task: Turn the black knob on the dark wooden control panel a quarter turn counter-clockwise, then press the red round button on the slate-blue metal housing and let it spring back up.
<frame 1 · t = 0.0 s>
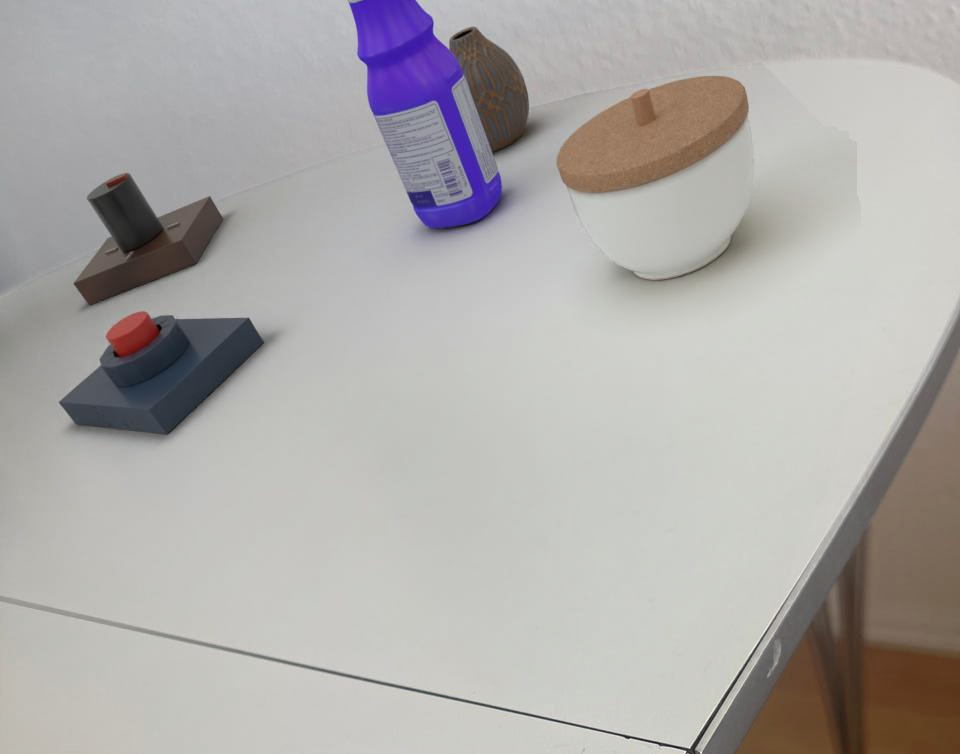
start button: (133, 334, 74), point 4 cm above the table, slide at 0.1 cm
vase: (502, 143, 86), on the table
control panel: (157, 261, 101), on the table
dial knob: (124, 211, 97), point 5 cm above the table, hinge at 0.0°
bottle: (466, 215, 77), on the table
button box: (168, 384, 77), on the table
trinket box: (681, 254, 60), on the table
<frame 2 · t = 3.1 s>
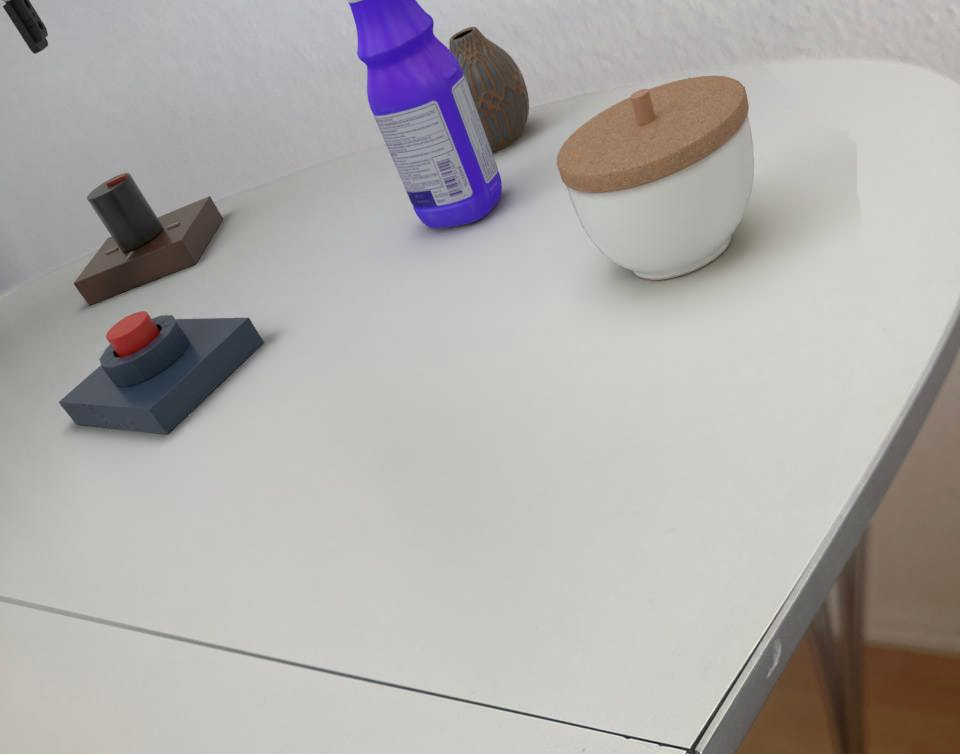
hand: (0, 71, 82), 20 cm above the table, tool pointing down, fingers open, 8 cm apart
nothing on the table moved.
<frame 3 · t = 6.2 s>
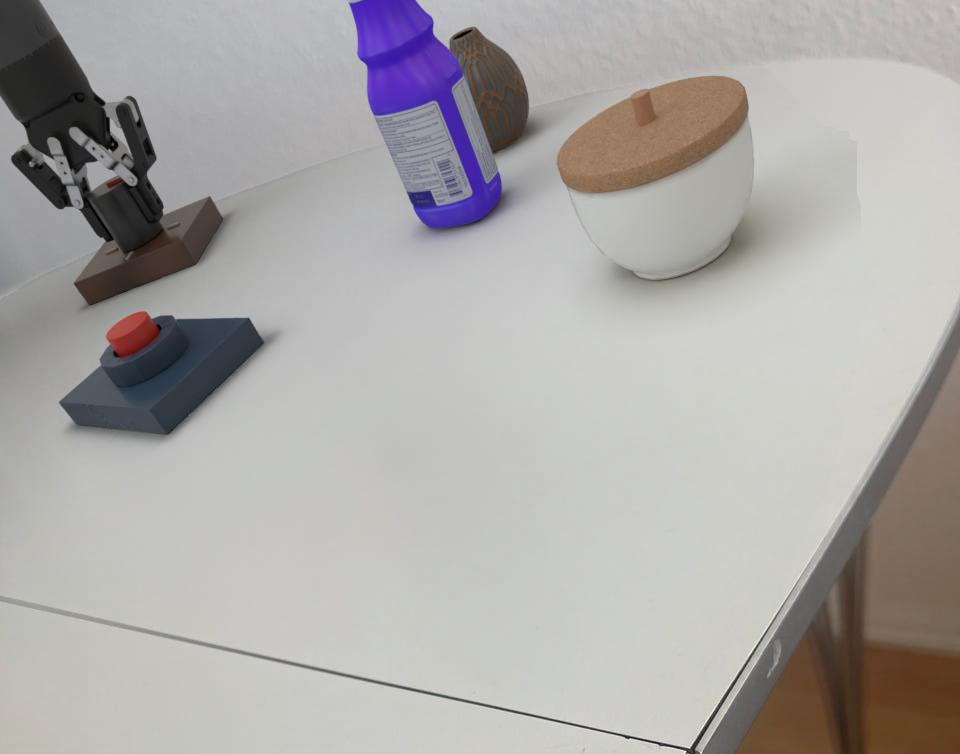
hand: (135, 228, 98), 4 cm above the table, tool pointing down, fingers closed on dial knob, 5 cm apart
dial knob: (124, 211, 97), point 5 cm above the table, hinge at 0.0°, touching gripper
everything else where it was.
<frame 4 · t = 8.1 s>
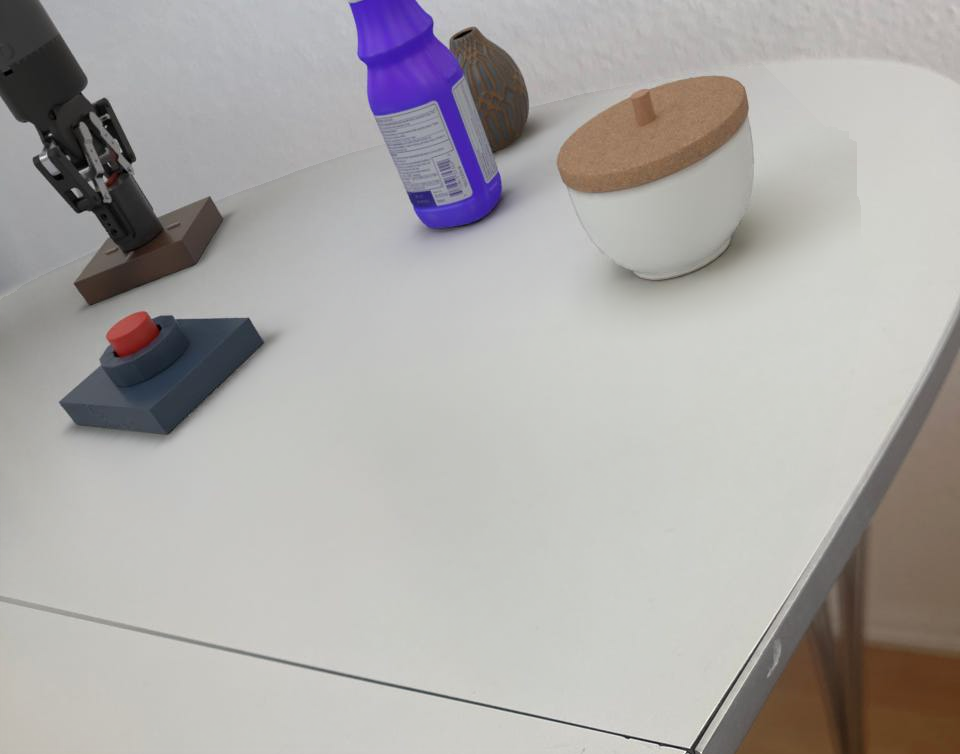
hand: (135, 228, 98), 4 cm above the table, tool pointing down, fingers closed on dial knob, 5 cm apart
dial knob: (124, 211, 97), point 5 cm above the table, hinge at 90.8°, touching gripper
everything else where it was.
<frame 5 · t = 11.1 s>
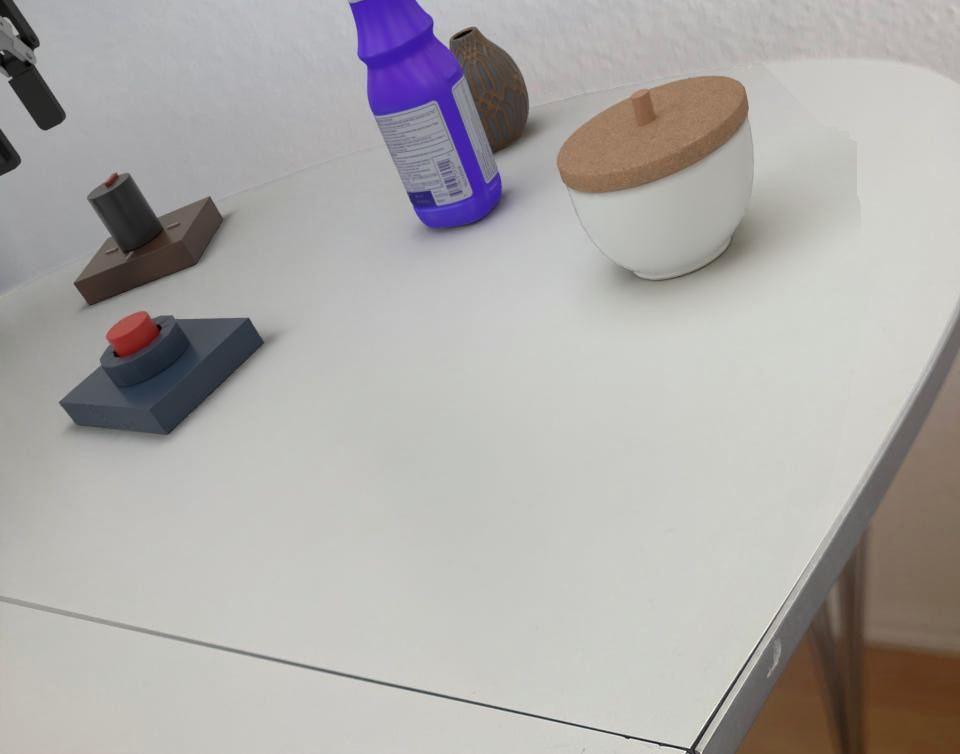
hand: (33, 147, 70), 17 cm above the table, tool pointing down, fingers open, 8 cm apart
dial knob: (124, 211, 97), point 5 cm above the table, hinge at 90.7°
everything else where it was.
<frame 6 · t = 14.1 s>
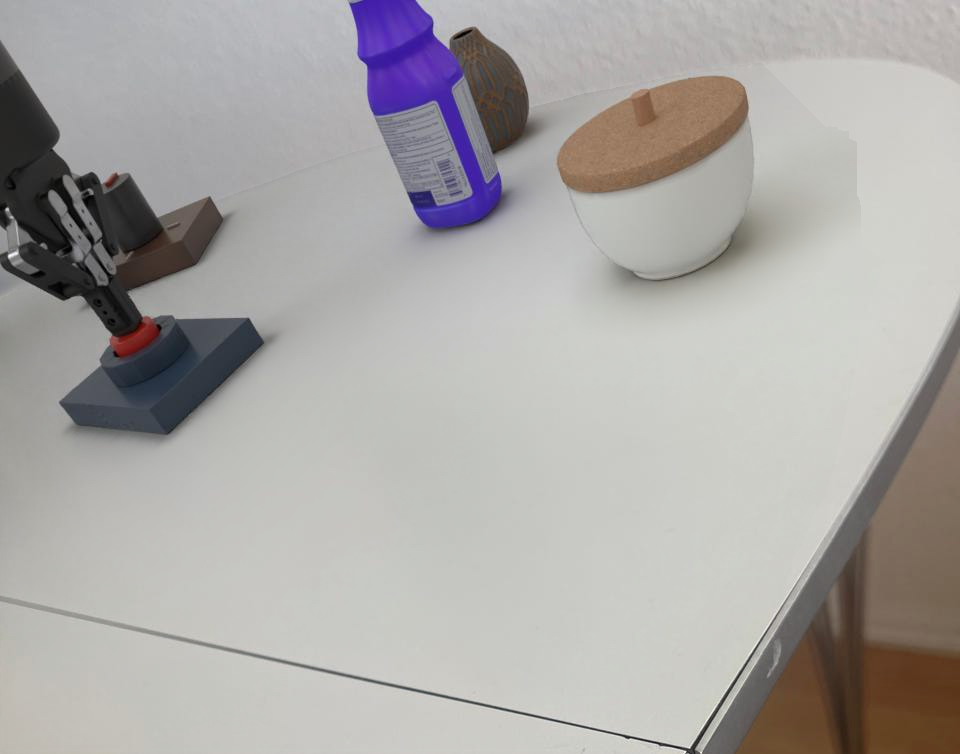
hand: (130, 329, 74), 5 cm above the table, tool pointing down, fingers closed
start button: (136, 339, 74), point 4 cm above the table, slide at -0.3 cm, touching gripper
everything else where it was.
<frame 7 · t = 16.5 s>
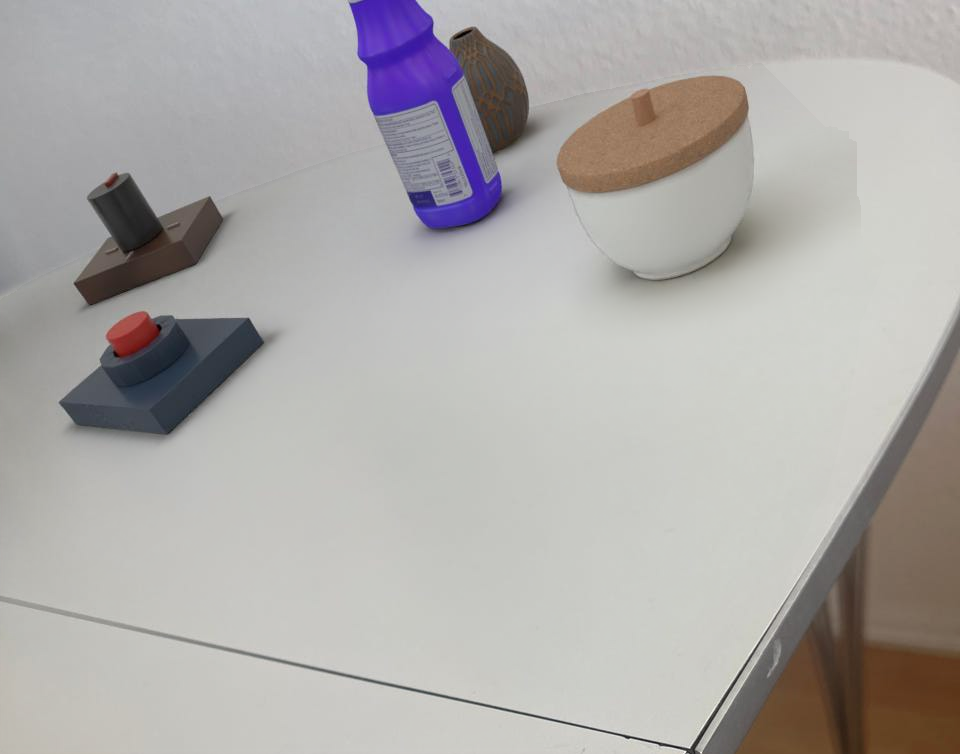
start button: (133, 334, 74), point 4 cm above the table, slide at 0.1 cm
everything else where it was.
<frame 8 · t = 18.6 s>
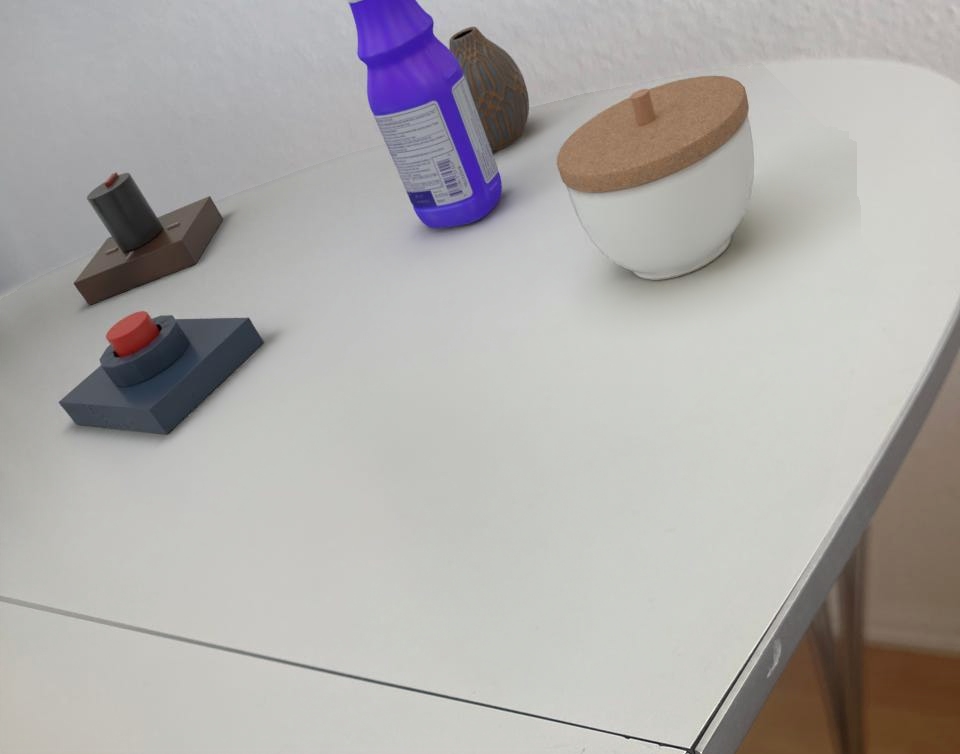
nothing on the table moved.
at the end: dial knob at +91° (first picture: +0°); start button pushed in 1.1 cm at the most during the clip, back to where it started at the end; start button slide at 0.1 cm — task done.
